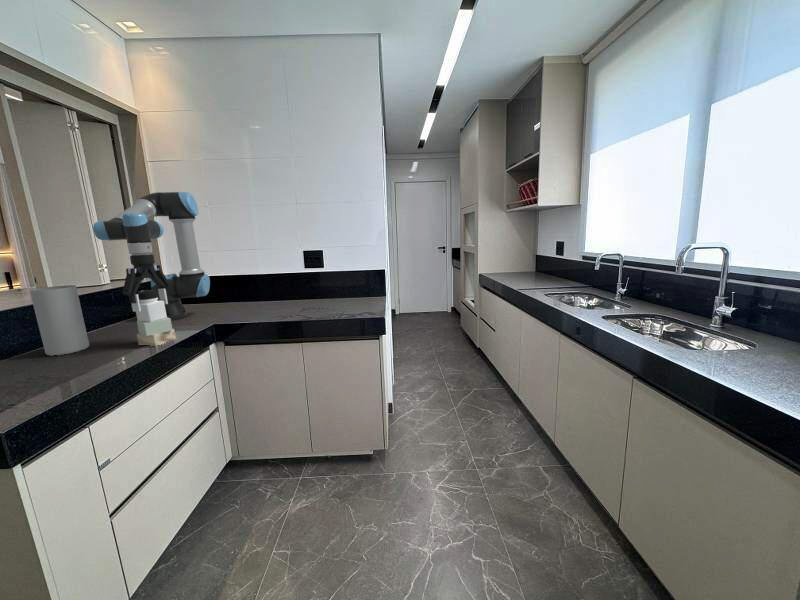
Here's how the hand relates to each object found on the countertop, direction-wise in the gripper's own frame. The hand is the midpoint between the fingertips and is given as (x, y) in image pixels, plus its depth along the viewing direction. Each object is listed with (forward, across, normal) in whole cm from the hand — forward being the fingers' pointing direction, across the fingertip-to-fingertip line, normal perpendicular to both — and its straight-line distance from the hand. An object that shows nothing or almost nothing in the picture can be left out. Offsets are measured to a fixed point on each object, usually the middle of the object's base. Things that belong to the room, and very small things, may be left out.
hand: (151, 307), depth 138 cm
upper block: (+10, 0, 0) cm, 10 cm away
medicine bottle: (+5, 0, 0) cm, 5 cm away
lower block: (+15, 0, 0) cm, 15 cm away
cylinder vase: (+15, -9, +30) cm, 35 cm away
